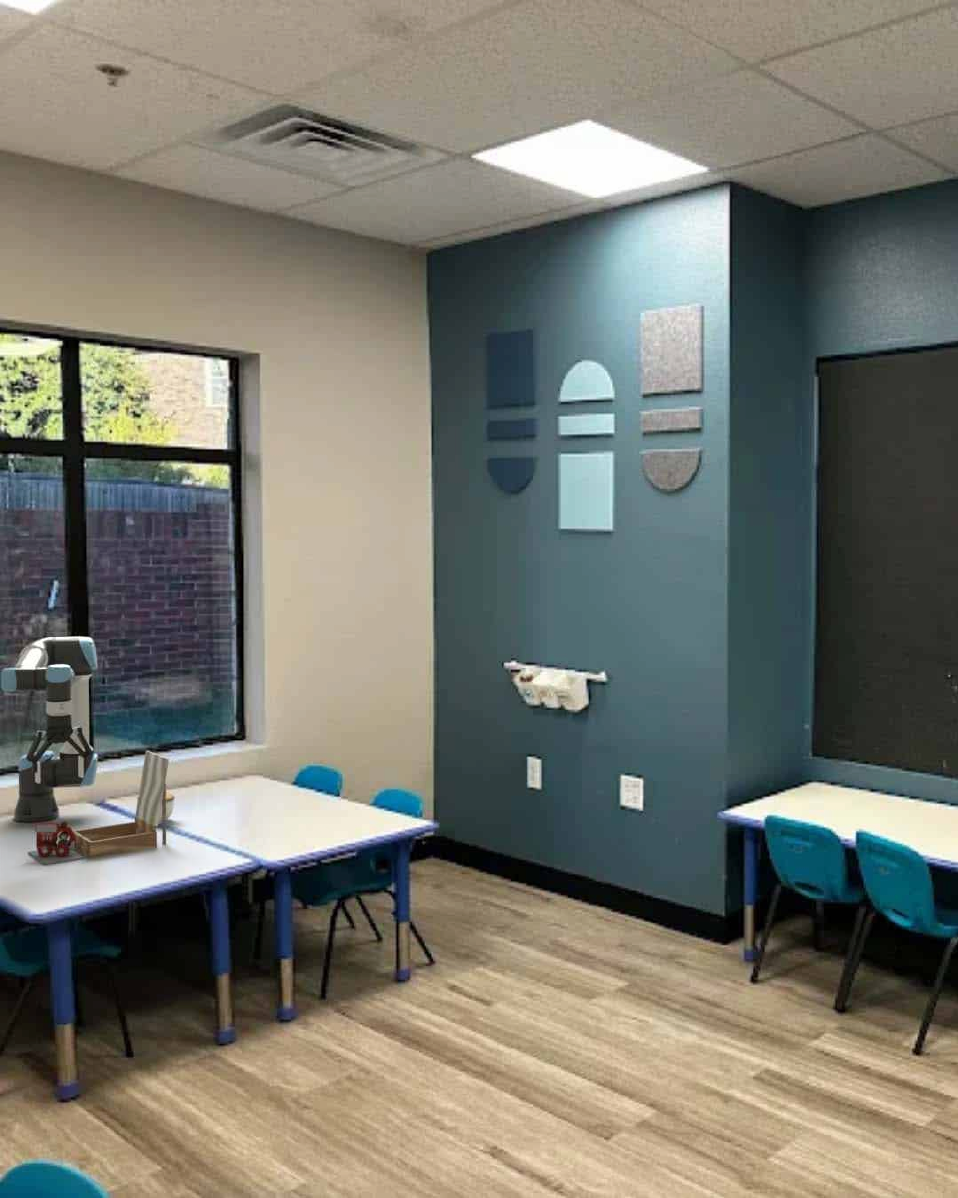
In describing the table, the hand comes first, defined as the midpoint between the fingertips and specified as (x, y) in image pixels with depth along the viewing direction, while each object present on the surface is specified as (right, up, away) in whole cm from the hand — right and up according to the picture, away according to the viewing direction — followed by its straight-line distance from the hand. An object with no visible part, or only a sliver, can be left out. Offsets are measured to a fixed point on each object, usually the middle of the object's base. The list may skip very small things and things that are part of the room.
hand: (59, 779), depth 368 cm
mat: (0, -24, -3) cm, 24 cm away
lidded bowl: (+19, -22, +42) cm, 51 cm away
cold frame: (+16, -23, +10) cm, 30 cm away
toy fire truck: (0, -23, -3) cm, 24 cm away
